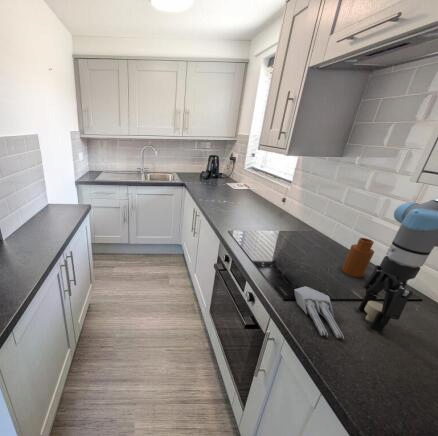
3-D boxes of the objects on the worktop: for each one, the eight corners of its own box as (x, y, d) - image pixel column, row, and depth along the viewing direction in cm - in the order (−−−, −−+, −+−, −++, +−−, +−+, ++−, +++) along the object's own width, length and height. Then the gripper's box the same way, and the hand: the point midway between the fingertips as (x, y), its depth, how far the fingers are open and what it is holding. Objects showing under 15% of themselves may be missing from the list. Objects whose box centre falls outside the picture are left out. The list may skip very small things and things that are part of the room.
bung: (375, 316, 78) (383, 303, 75) (383, 327, 73) (391, 313, 71) (358, 312, 79) (365, 299, 77) (364, 323, 75) (372, 309, 72)
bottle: (358, 269, 103) (372, 238, 97) (365, 279, 97) (382, 246, 91) (338, 266, 106) (352, 235, 99) (345, 274, 99) (360, 242, 93)
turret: (311, 339, 71) (317, 330, 68) (288, 289, 87) (292, 280, 85) (347, 345, 69) (354, 336, 67) (317, 293, 86) (322, 284, 84)
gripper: (369, 242, 77) (343, 296, 86) (408, 277, 59) (370, 340, 68) (397, 247, 75) (368, 301, 84) (447, 285, 57) (402, 349, 66)
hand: (369, 319), depth 76 cm, fingers open, 7 cm apart
